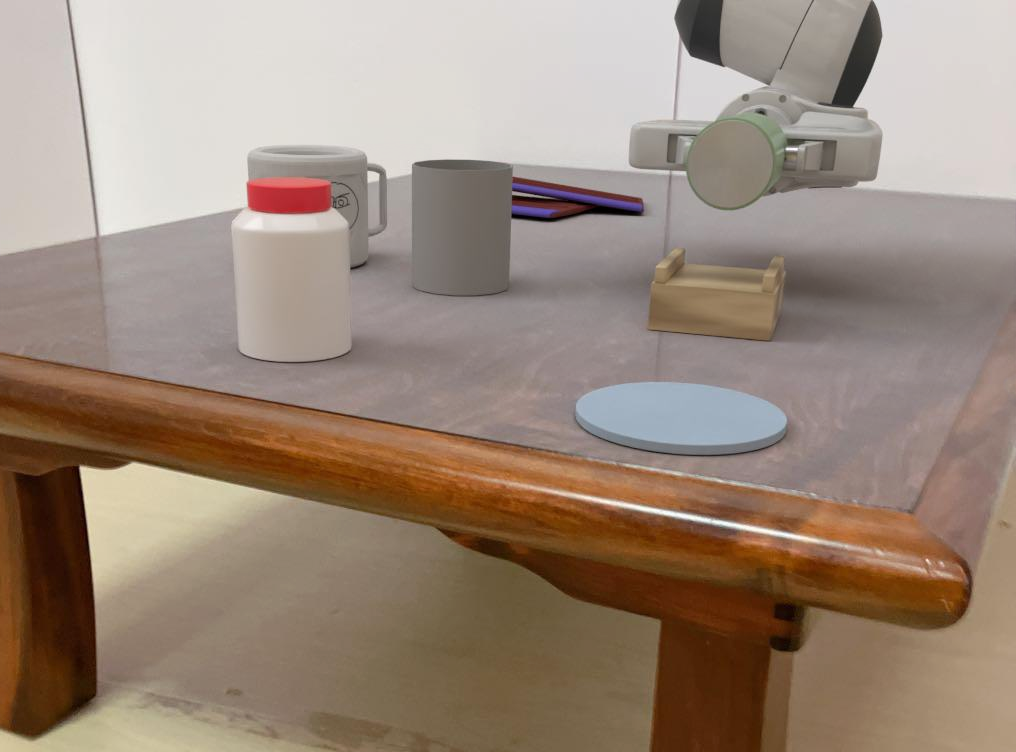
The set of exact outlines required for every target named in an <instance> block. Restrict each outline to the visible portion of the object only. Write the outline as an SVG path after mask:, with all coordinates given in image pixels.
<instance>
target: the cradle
mask: <svg viewBox="0 0 1016 752" xmlns="http://www.w3.org/2000/svg"><path fill="white" fill-rule="evenodd" d="M685 258H686V248H685V247H675V248H674V249H673V250H672V251H671V252H669V254H668V255H667V256H665V257H664V258H663V259H662V260H661V261H660V262H659V263H658V264H657V265H656V266H655V268H654V270H655V271H654V279H653V281H652V282H651V284H650V296H649V307H648V308H649V309H648V310H649V311H648V320H647V330H649V331H650V330H651V331H659V332H671V333H672V332H673V333H679V334H680V333H681V334H690V335H691V334H693V335H703V336H713V337H724V338H735V339H743V340H756V341H765V342H770V341H771V339H772V336H773V334H774V332H775V329H776V327H777V325H778V323H779V320H780V318H781V315H782V307H783V299H784V292H785V284H786V275H787V271H785V262H786V255H781V254H776V255H774V256H773V258H772V260H771V262H770V264H769V265H768V267H767V268H766V269H763V268H762V269H761V268H750V267H749V268H748V267H737V266H736V267H734V266H724V265H711V264H697V263H687V262H686V263H685Z"/></svg>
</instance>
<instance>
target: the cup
mask: <svg viewBox="0 0 1016 752" xmlns="http://www.w3.org/2000/svg"><path fill="white" fill-rule="evenodd" d="M513 177H514V165H513V164H510V163H507V162H502V161H494V160H481V159H480V160H478V159H451V158H450V159H448V158H447V159H446V158H445V159H426V160H420V161H414V162H413V163H412V164H411V286H412V287H413V288H415V289H416V290H417V291H421V292H425V293H429V294H433V295H434V294H435V295H444V296H445V295H446V296H454V297H455V296H456V297H457V296H461V297H462V296H484V295H493V294H495V295H496V294H498V293H502V292H504V291H507V290H509V287H510V271H511V270H510V269H511V267H510V265H511V239H512V238H511V237H512V236H511V235H512V214H511V210H512V195H513V191H512V179H513Z"/></svg>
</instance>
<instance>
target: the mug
mask: <svg viewBox="0 0 1016 752" xmlns="http://www.w3.org/2000/svg"><path fill="white" fill-rule="evenodd" d="M246 159H247V160H246V161H247V177H248V181H250V180H254V179H261V178H275V177H299V178H314V179H322V180H326V181H329V182H331V200H332V206H331V207H333V208H335V209H336V210H337V211H338V212H339V213H340V214H341V215H342V216H343V217H344V218H345V219H346V220H347V221H348V223H349V233H350V269H351V268H355V267H359V266H361V265H364V263H365V262H366V261H368V258H369V247H370V246H369V237H375V236H376V235H379V234H381V233H382V232H384V231H385V230H386V229H387V226H388V183H387V182H388V176H387V171H386V169H385V167H383V166H382V165H381V164H378V163H375V162H368V156H367V154H366V152H364V151H363V150H360V149H358V148H354V147H350V146H349V147H348V146H339V145H326V144H325V145H324V144H323V145H322V144H321V145H320V144H279V145H267V146H260V147H256V148H253V149H251V150H249V151H248V154H247V158H246ZM368 172H373V173H377V174H378V175H379V177H378V189H379V190H378V192H379V193H378V197H379V199H378V200H379V201H378V202H379V205H378V207H379V208H378V209H379V224H378V225H376V226H373V227H371V228H369V192H368V191H369V188H368V187H369V185H368V184H369V182H368V181H369V179H368Z"/></svg>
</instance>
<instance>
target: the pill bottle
mask: <svg viewBox="0 0 1016 752" xmlns="http://www.w3.org/2000/svg"><path fill="white" fill-rule="evenodd" d="M246 198H247V199H246V200H247V206H246V207H244V208H243V209H242V210H241V211H240V212H239V214H237V216H236V217H235V218H234V219H233V220H232V221H231V226H230V227H231V247H232V248H231V249H232V259H233V260H232V263H233V278H234V279H233V281H234V295H235V314H236V329H237V330H236V331H237V332H236V333H237V345H238V346H237V347H238V348H237V349H238V351H239V352H240V353H241V354H243V355H245V356H246V357H248V358H253V359H256V360H261V361H268V362H278V363H305V362H308V363H309V362H319V361H323V360H324V361H325V360H329V359H335V358H337V357H341V356H343V355H345V354H347V353H348V352H350V351H351V350H352V347H353V342H352V341H353V338H352V334H353V333H352V332H353V331H352V289H351V284H352V283H351V268H350V233H349V223H348V221H347V220H346V219H345V218H344V217H343V216H342V215H341V214H340V213H339V212H338V211H337V210H336V209H335V208H333V207H331V206H332V200H331V182H329V181H326V180H322V179H314V178H299V177H275V178H261V179H254V180H250V181H249V180H247V181H246Z"/></svg>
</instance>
